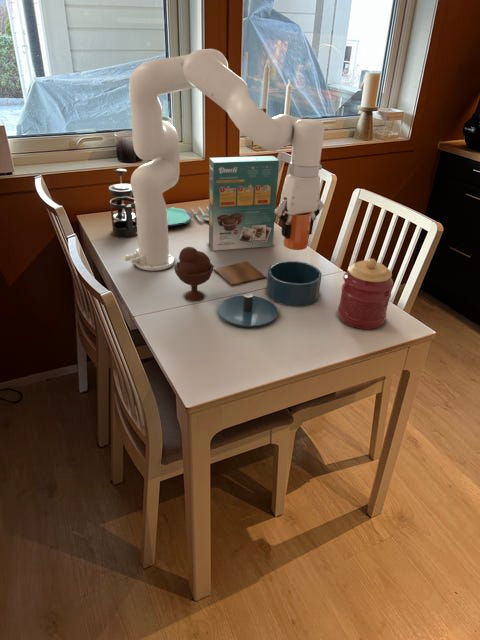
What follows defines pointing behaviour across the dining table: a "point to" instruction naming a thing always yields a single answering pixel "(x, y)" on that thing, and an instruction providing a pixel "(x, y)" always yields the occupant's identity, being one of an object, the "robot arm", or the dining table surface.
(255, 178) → the cake mix box
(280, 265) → the pot
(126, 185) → the french press
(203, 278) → the ice cream bowl
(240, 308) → the lid
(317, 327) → the dining table surface
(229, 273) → the plate
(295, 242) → the cup
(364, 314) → the kitchen canister
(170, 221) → the cutlery set
